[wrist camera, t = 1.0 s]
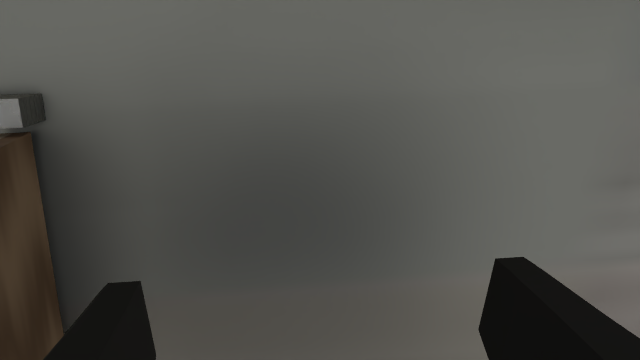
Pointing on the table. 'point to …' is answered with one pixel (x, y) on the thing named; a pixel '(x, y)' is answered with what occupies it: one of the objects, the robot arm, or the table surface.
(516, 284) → the robot arm
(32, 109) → the grey long block
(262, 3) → the table surface
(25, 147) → the flip panel
